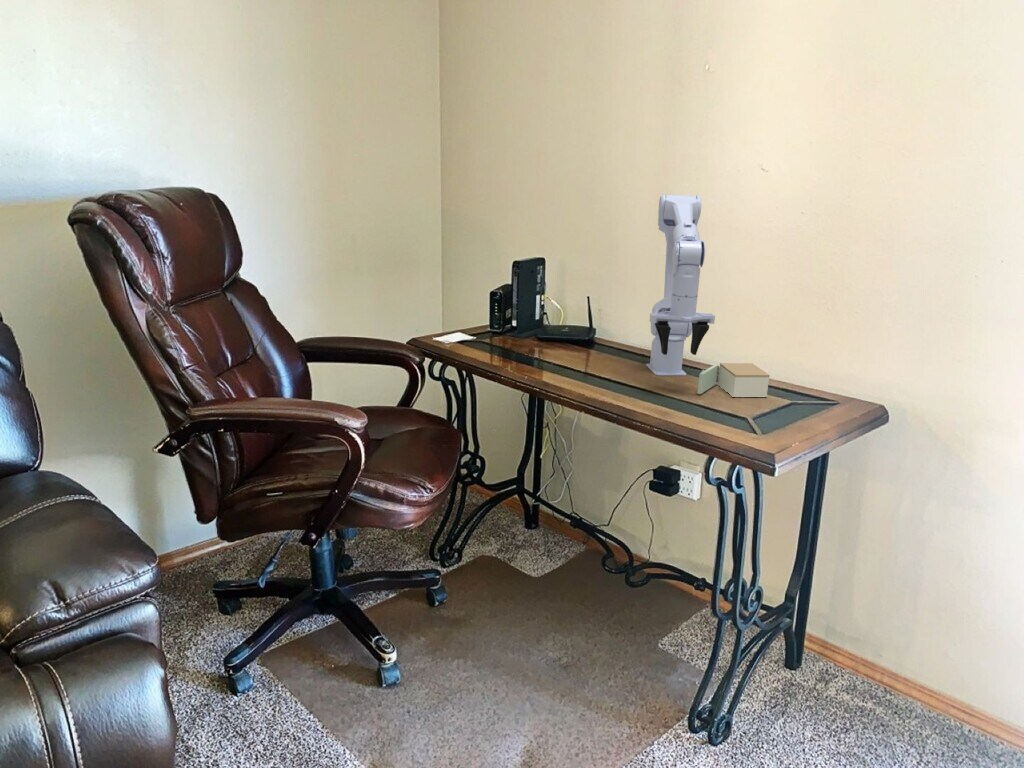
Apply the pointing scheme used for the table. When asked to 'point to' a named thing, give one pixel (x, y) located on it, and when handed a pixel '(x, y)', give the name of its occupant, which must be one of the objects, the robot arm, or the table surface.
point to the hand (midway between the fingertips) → (678, 353)
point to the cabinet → (743, 380)
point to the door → (708, 379)
